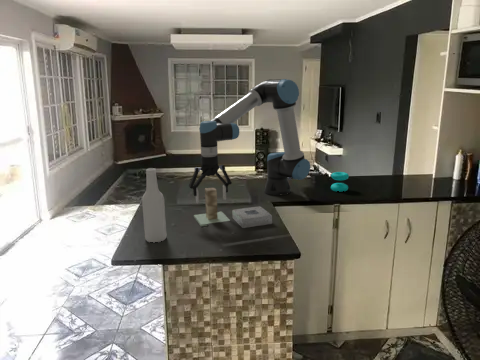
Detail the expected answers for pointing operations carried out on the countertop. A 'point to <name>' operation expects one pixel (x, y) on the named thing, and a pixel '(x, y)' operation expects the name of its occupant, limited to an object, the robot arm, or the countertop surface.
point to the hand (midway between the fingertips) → (211, 200)
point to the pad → (204, 221)
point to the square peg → (211, 203)
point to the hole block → (252, 217)
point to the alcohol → (153, 209)
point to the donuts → (340, 176)
